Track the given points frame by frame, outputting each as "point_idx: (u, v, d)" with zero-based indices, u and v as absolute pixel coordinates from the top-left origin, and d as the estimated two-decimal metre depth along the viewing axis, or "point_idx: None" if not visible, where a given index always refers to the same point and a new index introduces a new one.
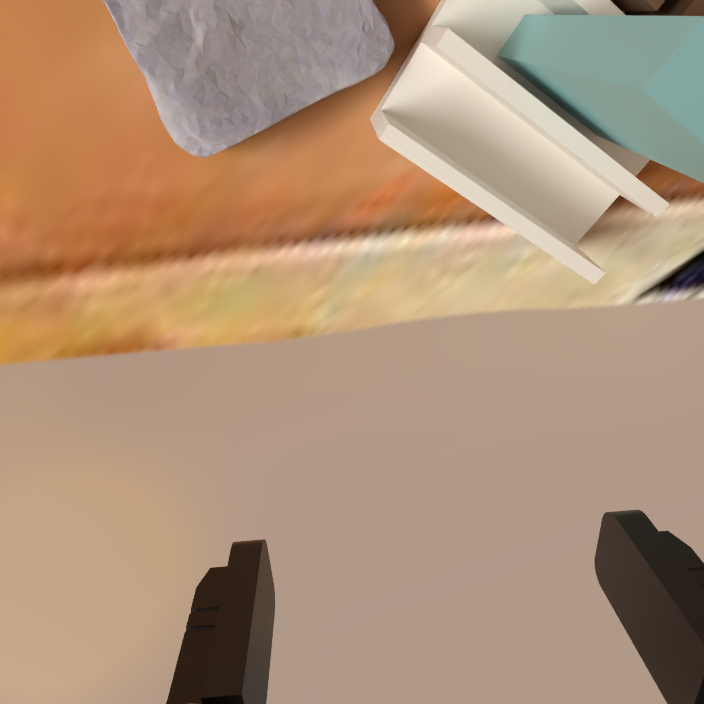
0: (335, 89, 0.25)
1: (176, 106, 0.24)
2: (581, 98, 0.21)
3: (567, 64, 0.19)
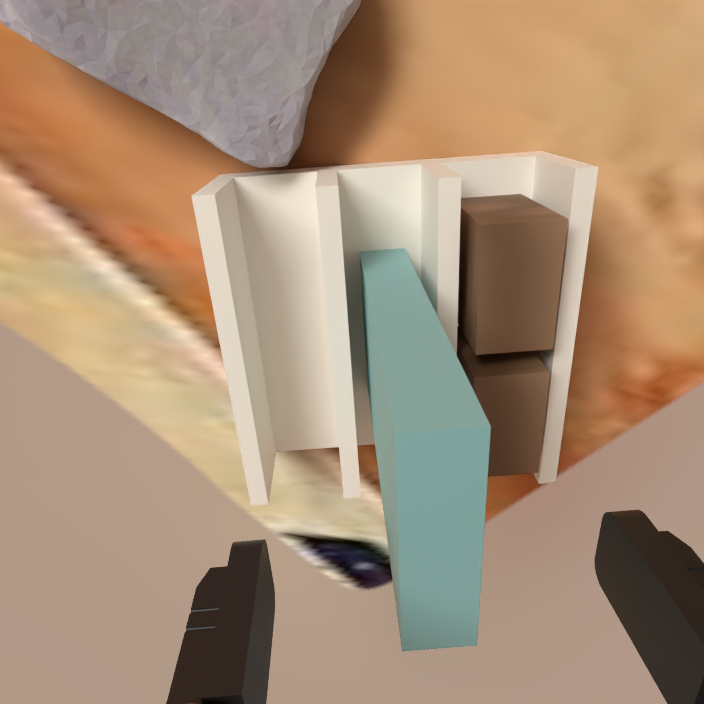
0: (199, 131, 0.20)
1: None
2: (372, 358, 0.19)
3: (382, 325, 0.16)
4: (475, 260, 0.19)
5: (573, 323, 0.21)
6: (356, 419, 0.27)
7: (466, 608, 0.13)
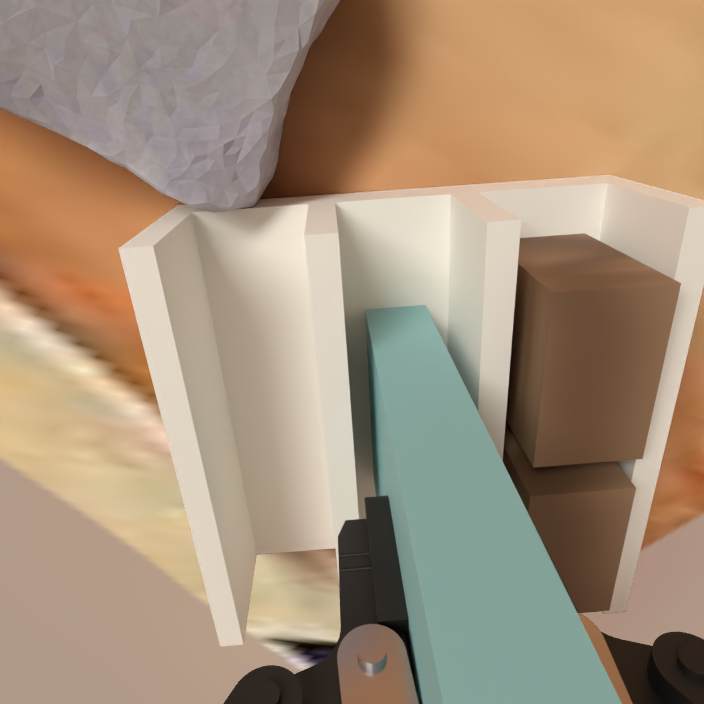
0: (125, 164, 0.14)
1: None
2: (388, 487, 0.13)
3: (409, 467, 0.10)
4: (538, 338, 0.13)
5: (666, 418, 0.15)
6: (359, 515, 0.21)
7: None
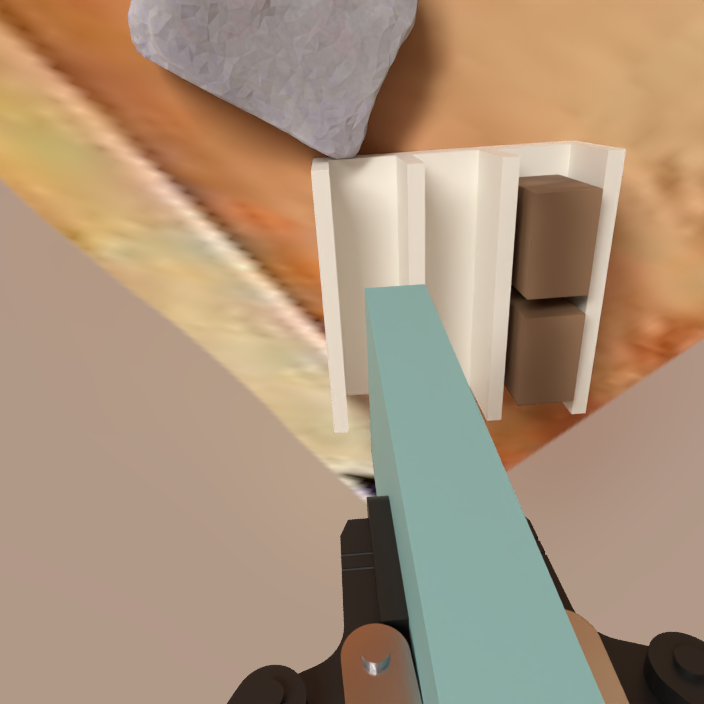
0: (290, 132, 0.25)
1: None
2: (386, 473, 0.13)
3: (409, 464, 0.10)
4: (529, 222, 0.25)
5: (603, 276, 0.26)
6: None
7: None
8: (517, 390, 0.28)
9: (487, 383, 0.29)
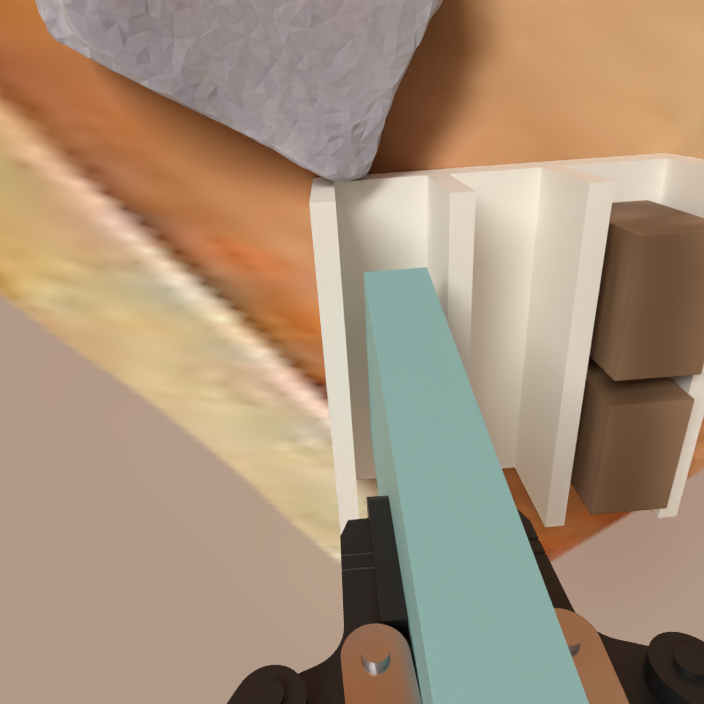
0: (273, 146, 0.18)
1: None
2: (386, 474, 0.13)
3: (410, 480, 0.10)
4: (624, 275, 0.17)
5: None
6: None
7: None
8: (591, 494, 0.21)
9: (547, 480, 0.22)
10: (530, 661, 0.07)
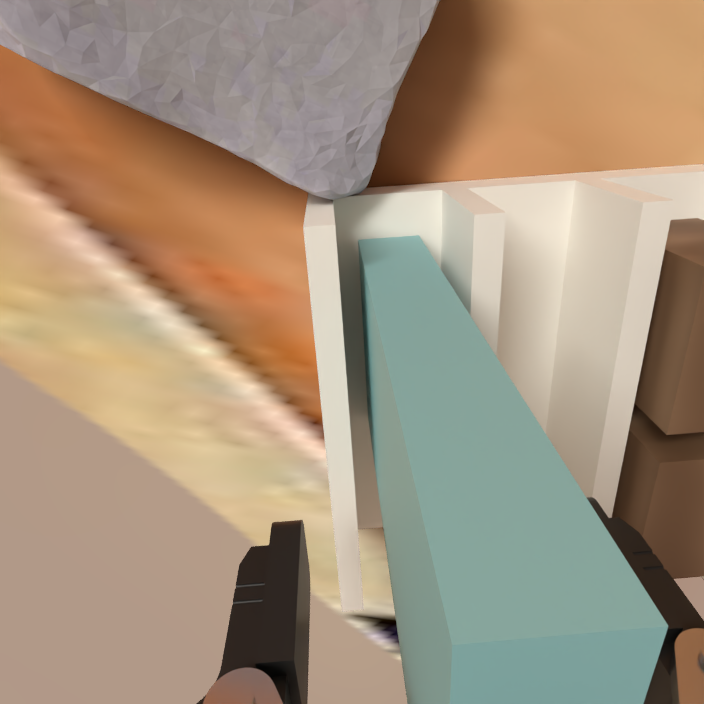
0: (253, 159, 0.15)
1: None
2: (379, 398, 0.13)
3: (398, 357, 0.10)
4: (681, 312, 0.14)
5: None
6: None
7: None
8: None
9: None
10: (520, 465, 0.07)
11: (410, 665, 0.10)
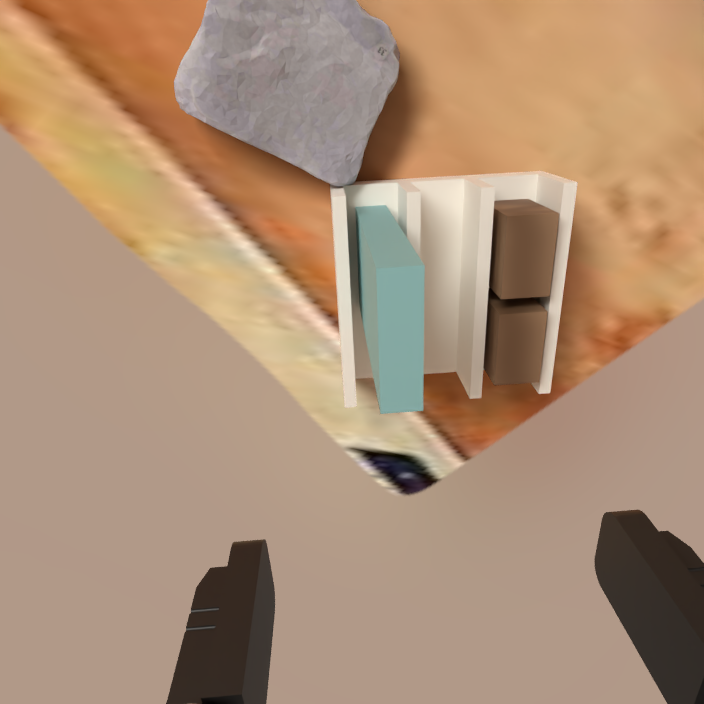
0: (301, 166, 0.32)
1: (201, 66, 0.28)
2: (363, 266, 0.30)
3: (370, 236, 0.27)
4: (502, 238, 0.31)
5: (562, 281, 0.33)
6: None
7: (416, 383, 0.24)
8: (494, 373, 0.35)
9: (470, 367, 0.36)
10: (402, 251, 0.24)
11: (373, 346, 0.26)
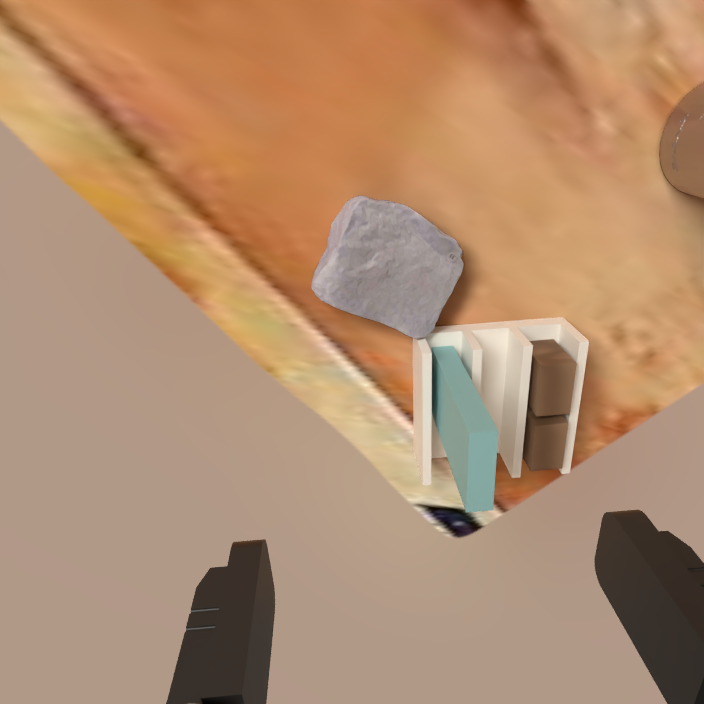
0: (395, 328, 0.46)
1: (335, 276, 0.43)
2: (445, 402, 0.44)
3: (454, 392, 0.41)
4: (537, 377, 0.46)
5: (578, 401, 0.47)
6: None
7: (489, 494, 0.39)
8: (530, 462, 0.49)
9: (512, 456, 0.50)
10: (480, 413, 0.38)
11: (457, 464, 0.41)
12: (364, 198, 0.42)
